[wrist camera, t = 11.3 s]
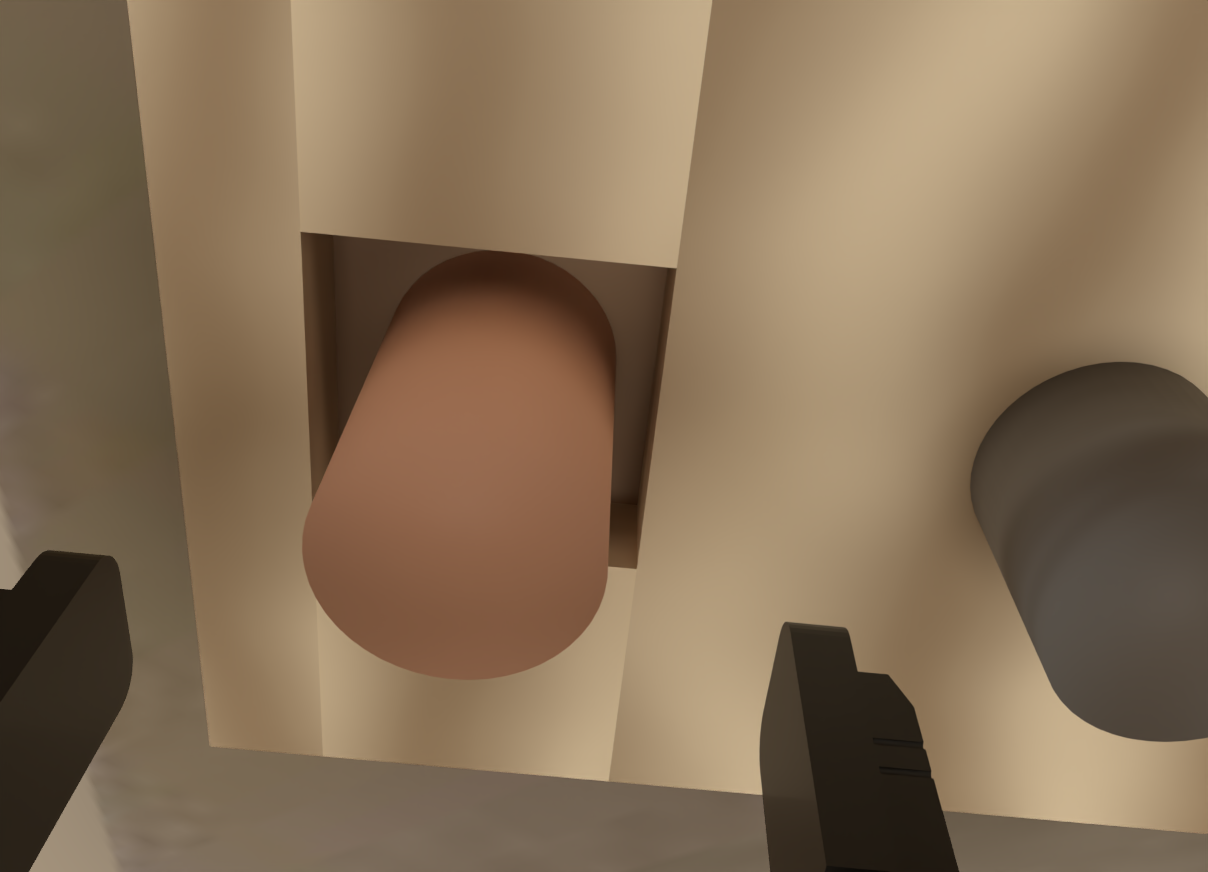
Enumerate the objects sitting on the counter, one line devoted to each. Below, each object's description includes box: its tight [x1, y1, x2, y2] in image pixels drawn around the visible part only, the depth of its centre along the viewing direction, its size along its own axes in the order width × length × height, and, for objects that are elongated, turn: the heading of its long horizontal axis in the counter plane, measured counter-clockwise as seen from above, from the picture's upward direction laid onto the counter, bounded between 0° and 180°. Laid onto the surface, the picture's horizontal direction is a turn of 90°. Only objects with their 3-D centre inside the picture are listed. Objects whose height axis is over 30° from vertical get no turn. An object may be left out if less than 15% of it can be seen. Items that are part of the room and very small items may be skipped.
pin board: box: [127, 0, 1208, 834], centre depth 18 cm, size 20×16×7 cm
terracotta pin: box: [302, 250, 616, 680], centre depth 18 cm, size 4×4×6 cm
